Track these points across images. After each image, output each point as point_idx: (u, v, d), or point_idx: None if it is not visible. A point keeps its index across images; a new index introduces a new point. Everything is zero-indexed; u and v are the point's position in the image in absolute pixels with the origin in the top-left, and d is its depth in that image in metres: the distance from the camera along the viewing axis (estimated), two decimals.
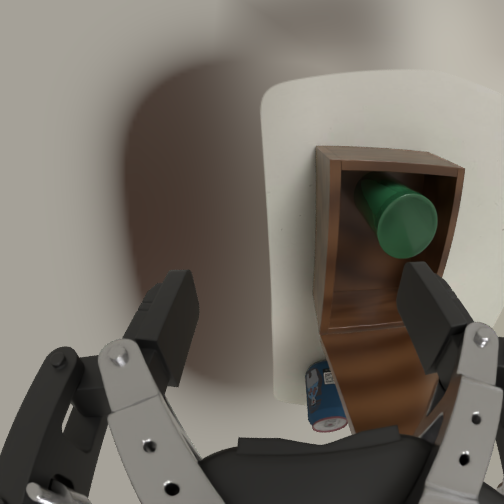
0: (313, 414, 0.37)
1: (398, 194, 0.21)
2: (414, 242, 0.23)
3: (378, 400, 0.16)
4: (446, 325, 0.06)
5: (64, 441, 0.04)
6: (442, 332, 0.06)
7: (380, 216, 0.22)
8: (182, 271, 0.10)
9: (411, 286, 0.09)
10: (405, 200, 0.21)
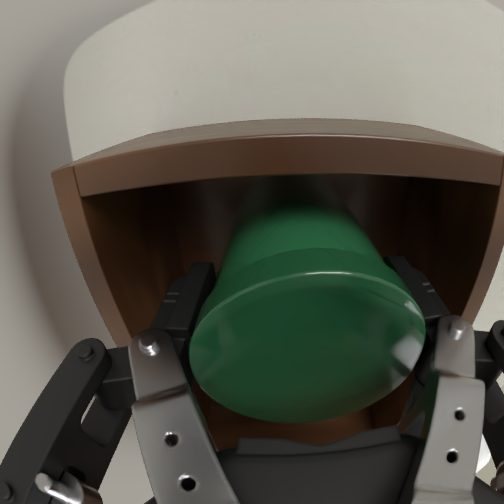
0: None
1: (253, 271, 0.06)
2: (335, 398, 0.07)
3: None
4: None
5: (82, 434, 0.05)
6: None
7: (189, 346, 0.07)
8: (206, 263, 0.10)
9: None
10: (279, 300, 0.06)
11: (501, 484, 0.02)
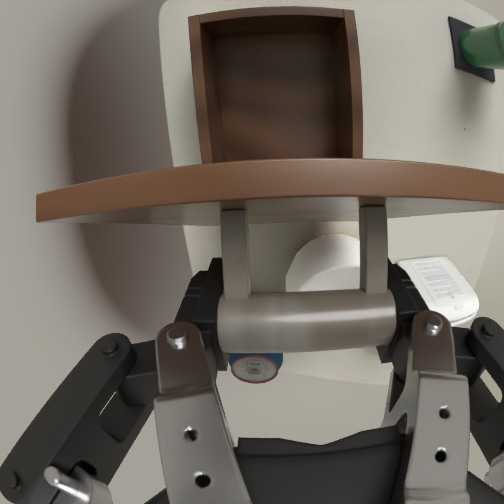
0: None
1: None
2: None
3: None
4: (396, 312, 0.07)
5: (98, 430, 0.05)
6: None
7: (498, 29, 0.12)
8: None
9: None
10: None
11: (495, 481, 0.03)
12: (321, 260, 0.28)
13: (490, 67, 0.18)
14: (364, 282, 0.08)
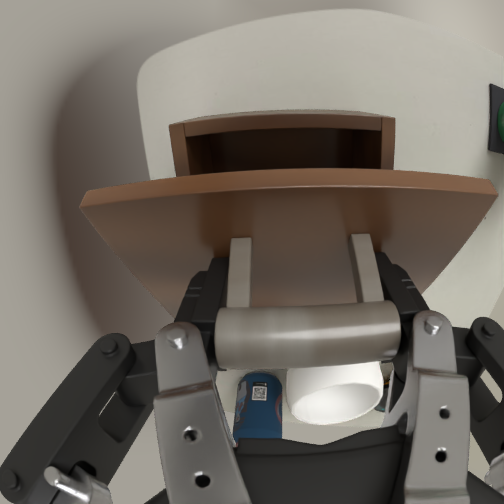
0: (235, 433, 0.32)
1: None
2: None
3: None
4: None
5: (98, 430, 0.05)
6: None
7: None
8: (226, 258, 0.10)
9: None
10: None
11: (495, 481, 0.03)
12: (321, 375, 0.27)
13: None
14: (360, 294, 0.08)
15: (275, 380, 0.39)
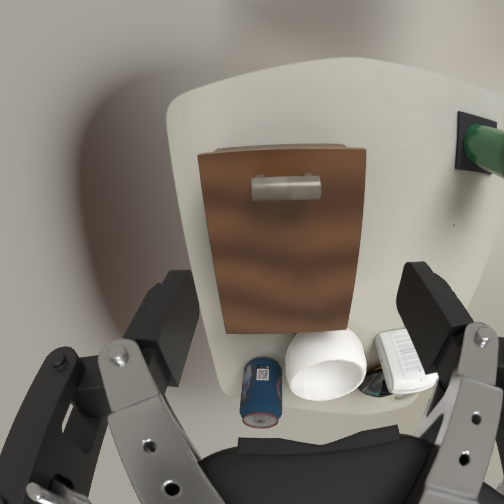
0: (242, 408, 0.39)
1: None
2: None
3: None
4: (446, 325, 0.06)
5: (64, 441, 0.04)
6: (442, 332, 0.06)
7: None
8: (182, 271, 0.10)
9: (411, 286, 0.09)
10: None
11: None
12: (313, 354, 0.35)
13: (489, 171, 0.25)
14: None
15: (276, 364, 0.46)
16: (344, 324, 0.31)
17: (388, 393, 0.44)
